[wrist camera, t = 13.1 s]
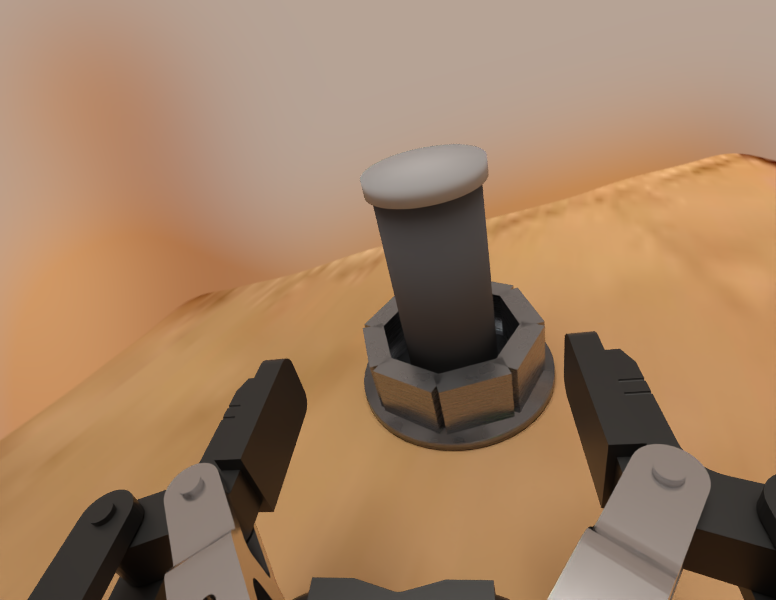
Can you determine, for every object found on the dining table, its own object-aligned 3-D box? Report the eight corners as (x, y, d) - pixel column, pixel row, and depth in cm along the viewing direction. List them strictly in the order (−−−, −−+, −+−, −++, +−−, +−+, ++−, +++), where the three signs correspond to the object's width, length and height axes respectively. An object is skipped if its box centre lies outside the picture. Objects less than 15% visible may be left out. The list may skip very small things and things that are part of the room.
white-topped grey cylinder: (389, 382, 26) (334, 187, 19) (439, 327, 29) (406, 145, 23) (475, 415, 22) (444, 193, 16) (520, 349, 26) (508, 143, 19)
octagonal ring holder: (330, 405, 26) (311, 360, 24) (427, 303, 33) (419, 261, 31) (504, 486, 20) (499, 435, 18) (581, 339, 26) (583, 289, 24)
